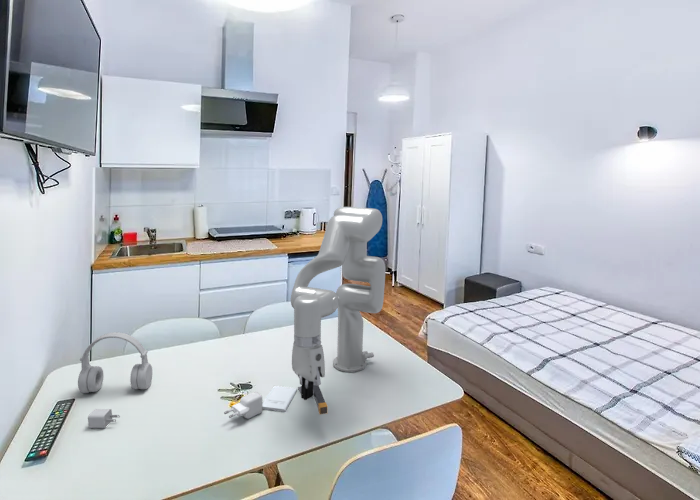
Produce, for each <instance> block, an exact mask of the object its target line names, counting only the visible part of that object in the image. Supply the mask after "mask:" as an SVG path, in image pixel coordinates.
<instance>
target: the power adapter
mask: <svg viewBox="0 0 700 500" xmlns="http://www.w3.org/2000/svg"><path fill="white" fill-rule="evenodd" d="M262 403H263V396H262V394H261V393H259V392H257V391H253V392H250V393H248V394H246V395H243V396H242V397H241V398H240V400H239V402H237V403H235V404H234V405H232V406H231V408H229V409H228V410H226V411H224V412H223V414H224V415H226V414H227V415H228V414H229V413H231V412H233V413H232V414H230V415H228V418H229V419H230V418H231V419H232V418H233V417H235V416H238V417H241V416H242V417H243V418H244V419H246V420H247V419H248V420H250V419H251V418H253V417H256V416H257V415H259V414H261V413H262V412H263V410H264V409H263V405H262Z"/></svg>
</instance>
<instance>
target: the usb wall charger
mask: <svg viewBox="0 0 700 500" xmlns="http://www.w3.org/2000/svg"><path fill="white" fill-rule="evenodd" d="M112 411H113V410H112V409H111V408H94V409H93V410H92V411H91V412H90V413H89V415H88V416H87V424H88V428H89V429H106V428H107V427H108V426H109V425H110V424H111V423H116V422H117V420H116V418H120V417H121V416H120V415H119V414H113V412H112ZM114 418H115V419H114ZM110 422H111V423H110ZM109 423H110V424H109ZM108 424H109V425H108ZM107 425H108V426H107ZM106 426H107V427H106ZM105 427H106V428H105Z"/></svg>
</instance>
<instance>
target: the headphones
mask: <svg viewBox="0 0 700 500" xmlns="http://www.w3.org/2000/svg"><path fill="white" fill-rule="evenodd" d="M105 339H120V340H124V341H126V342H128V343H130V344H131V345H132V346H133V347H135V348H136V349H137V351H138V352H139V355H140V356H139V357H140V358H141V363H136V364H135V365H133V367H132V368H131V372H130V377H129V378H130V379H129V382H130V386H131V388H132V389H133V390H139V389H140V390H147V389H148V388H150V386H151V385H152V384H151V383H152V381H153V367H152V365H151V363H150V362H149V359H148V351H149V350H148V349H145V347H144V346H143V345H142V343H141V342H140V341H139V340H138V339H137V338H135V337H133V336H132V335H130V334H127V333H124V332H119V331H118V332H115V331H114V332H108V333H104V334H103V335H100V336H98V337H97V338H96V339H94V340H93V341H92V343H90V344H89V345H88V346H87V348H86V349H85V350H84V352H83V355H82V356H81V357H80V359H79V361H80V362H81V370H80V372H79V375H78V379H77V387H78V390H79V391H80V393H82V394H89V392H90V393H97V392H99V390H100V389H101V387H102V386H103V382H104V369H103V368H102V367H101V366H100V365H94V366H93V365H91V364H90V361H89V356H90V354H89V353H90V351H91V350H92V348H93V347H94V346H95V345H96V344H97V343H99V342H100V341H103V340H105Z"/></svg>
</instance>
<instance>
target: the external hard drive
mask: <svg viewBox="0 0 700 500" xmlns="http://www.w3.org/2000/svg"><path fill="white" fill-rule="evenodd" d="M297 392H298V387H293V386H292V387H290V386H284V385H283V386H281V385H273V387H272V388H271V389H270V390H269V392H268V394H267V395H266V397H265V398H264V400H262V405H263V409H262V410H264V411H275V412H281V413H286V411H288V407H289V406H290V404H291V402H292V401H293V399H294V397H295V395H296V393H297Z"/></svg>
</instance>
